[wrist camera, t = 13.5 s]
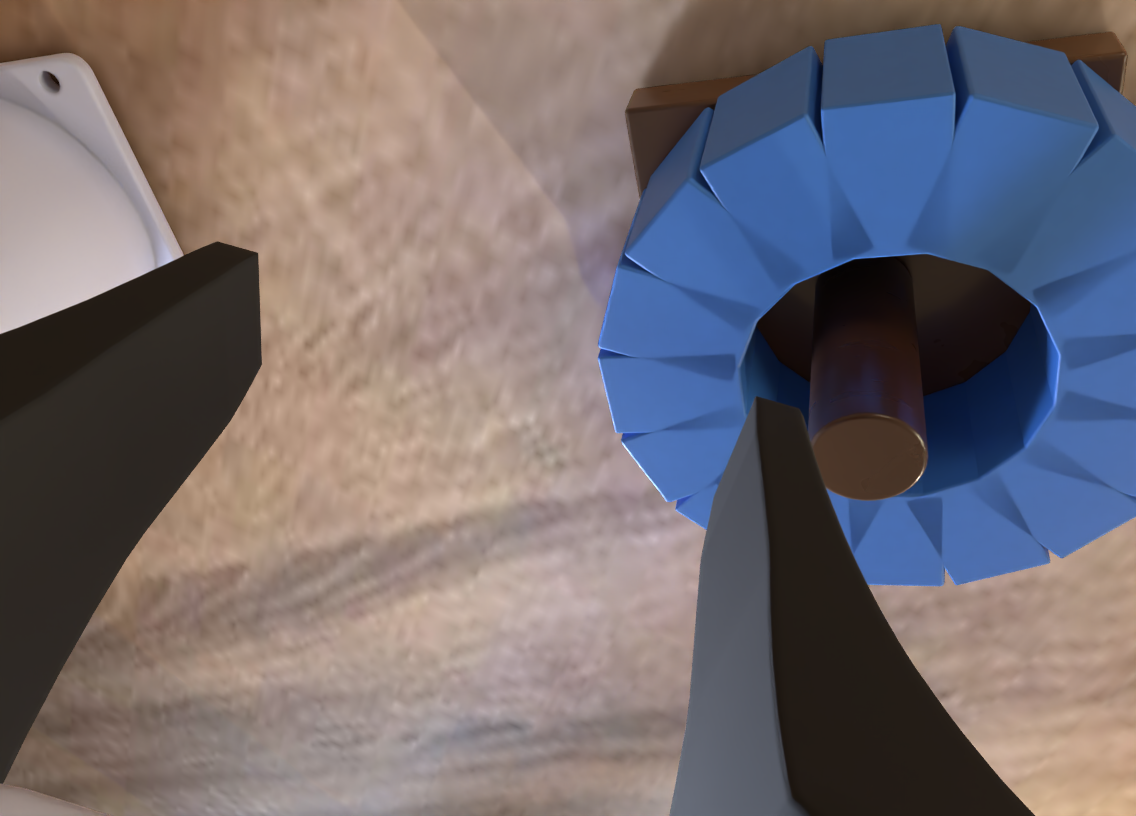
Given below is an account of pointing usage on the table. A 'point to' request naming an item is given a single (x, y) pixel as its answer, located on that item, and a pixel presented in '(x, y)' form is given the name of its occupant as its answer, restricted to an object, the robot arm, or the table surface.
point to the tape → (894, 228)
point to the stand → (871, 312)
